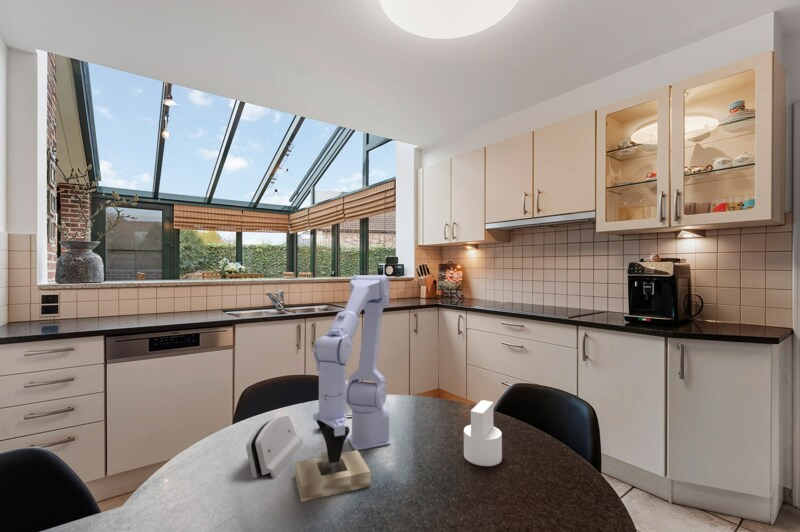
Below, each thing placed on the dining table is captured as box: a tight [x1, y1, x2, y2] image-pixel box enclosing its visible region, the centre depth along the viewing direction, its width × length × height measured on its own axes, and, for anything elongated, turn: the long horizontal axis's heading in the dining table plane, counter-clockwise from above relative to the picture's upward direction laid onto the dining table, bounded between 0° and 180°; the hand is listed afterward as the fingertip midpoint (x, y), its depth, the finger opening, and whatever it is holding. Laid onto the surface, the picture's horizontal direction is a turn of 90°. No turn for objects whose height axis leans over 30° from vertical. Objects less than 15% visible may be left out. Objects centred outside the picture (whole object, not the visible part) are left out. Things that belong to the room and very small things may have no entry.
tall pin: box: [321, 425, 341, 476], centre depth 77 cm, size 4×4×9 cm
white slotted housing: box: [245, 415, 304, 479], centre depth 87 cm, size 17×5×10 cm, turn 173°
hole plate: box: [294, 450, 372, 503], centre depth 77 cm, size 14×10×3 cm
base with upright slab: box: [463, 399, 503, 467], centre depth 88 cm, size 9×9×12 cm
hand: (332, 456), depth 77 cm, fingers closed on tall pin, 4 cm apart
